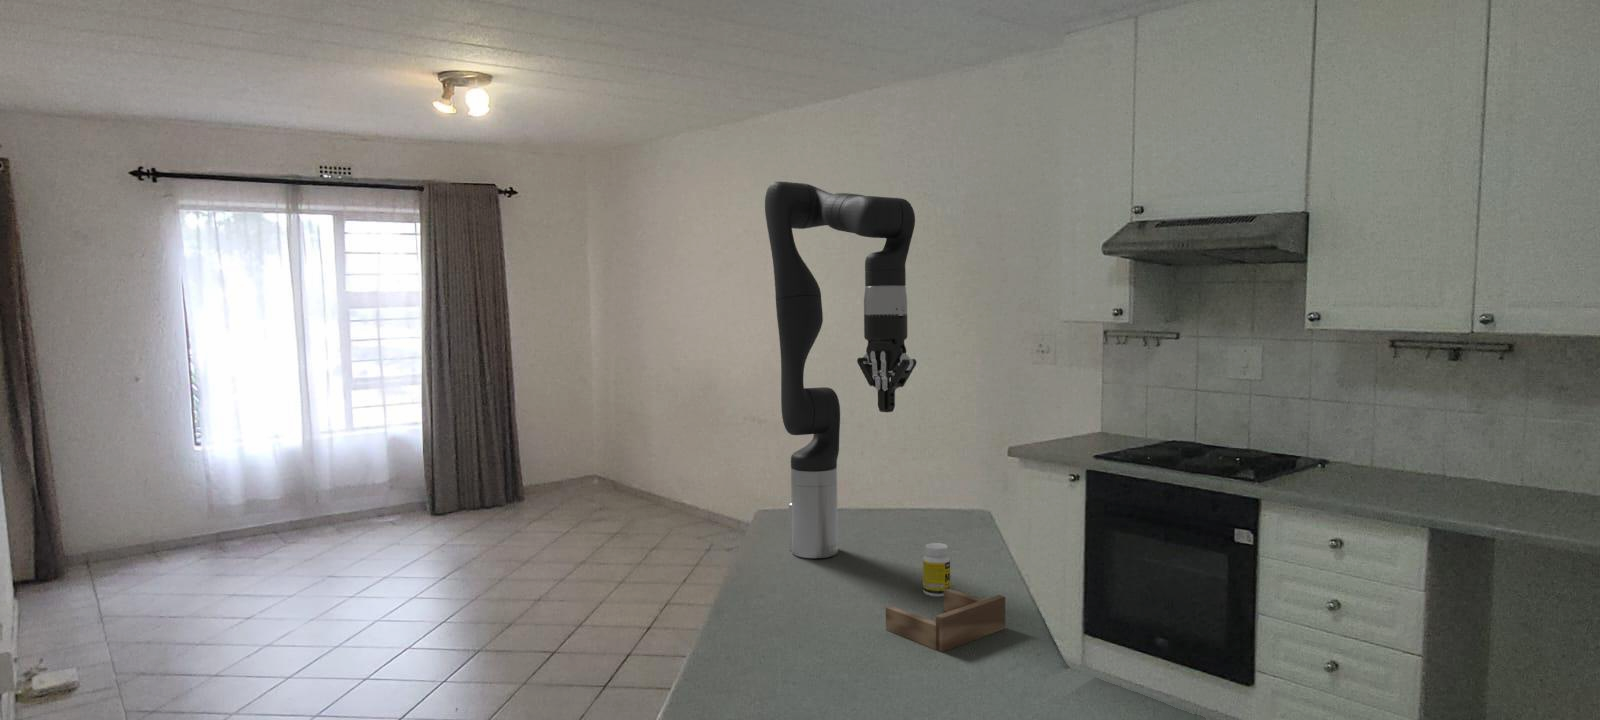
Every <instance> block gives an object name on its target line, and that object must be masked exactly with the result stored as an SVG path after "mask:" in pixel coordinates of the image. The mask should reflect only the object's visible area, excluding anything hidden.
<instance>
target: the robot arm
mask: <svg viewBox="0 0 1600 720" xmlns="http://www.w3.org/2000/svg"><path fill="white" fill-rule="evenodd" d="M764 211H765V212H764V213H765V221H766V228H767V234H768V239H769V240H768V241H769V245H770V250H771V258H772V265H773V266H772V267H773V276H774V277H773V278H774V288H775V289H774V291H775V309H776V320H777V327H778V336H779V350H780V369H781V371H780V374H781V375H780V377H781V379H780V382H781V383H780V385H781V386H780V387H781V389H780V390H781V391H780V392H781V393H780V394H781V395H780V400H781V402H780V405H781V407H780V408H781V417H782V418H781V419H782V422H783V426H784V429H785V430H786V432H787V433H788V434H789V435H791V436H805V435H813V437H812V439H811V441H810V442H809V443H808V444H807V445H805V446H804V447H802V448H800V449H799V450H796V451H795V452H793V453H792V454H791V456H790V483H791V484H790V487H791V488H790V490H791V491H790V493H791V503H789V504H788V535H789V536H788V538H789V540H788V542H789V547H788V548H789V549H788V550H789V551H791V553H792V555H794V556H795V557H798V558H799V557H800V558H805V559H824V558H830V557H833V556H835V555H837V554H838V552H839V545H838V544H839V543H838V542H839V541H838V539H839V538H838V534H839V530H838V524H839V523H838V519H839V518H838V457H839V453H840V433H841V432H840V426H841V405H840V401H839V397H838V395H837V393H836V391H835V390H834V389H833V388H831V387H806V388H805V386H804V374H805V365H806V363H807V359H808V357H809V354H810V351H811V350H812V347H813V345H814V344H815V342H816V340H817V338H818V336H819V333H820V331H821V329H822V327H823V322H824V315H823V314H824V313H823V303H822V293H821V292H822V291H821V289H820V286H819V284H818V282H817V280H816V277H815V276H814V275H813V273H812V271H811V269H810V268H809V267H808V265H807V264H806V263H805V262H804V260H803V258H802V256H801V255H800V253H799V251H798V249H797V246H796V242H795V239H794V234H793V229H797V230H799V229H800V230H805V229H810V228H811V229H812V228H818V227H822V226H828V227H829V228H831V229H833V230H835V231H840V232H844V233H845V232H846V233H850V234H855V235H857V236H860V237H863V238H864V237H865V238H870V239H871V238H874V239H876V238H877V239H885V244H884V245H883V249H882V250H880V251H876V252H871V253H869V254H868V255H867V256H866V257H865V261H864V282H865V284H864V286H865V287H864V297H863V317H864V318H863V334H864V335H863V337H864V339H865V340H866V341H867V345H866V350H865V351H866V353H865V354H864V355H863V356H862V357H858V358H857V360H856V362H857V364H858V366H859V369H860V370H861V372H862V374H863V376H864V377H865V380H866V382H867V383H868V386H870V387H874V388H875V390H876V391H877V408H878V411H879V412H880V413H893V411H894V409H895V407H896V395H895V394H896V390H897V389H899V388H904V386H905V385H906V384H907V381H908V379H909V377H910V376H911V374H912V373H913V370H914V369H915V367H916V366H917V360H916V359H915V358H911V357H909V355H908V354H907V348H906V345H905V340H907V338H908V297H907V287H906V285H907V284H906V282H907V281H906V279H907V278H906V262H907V259H908V258H907V257H908V254H909V251H910V247H911V241H912V237H913V235H914V231H915V226H916V216H915V215H916V214H915V210H914V208H913V206H912V204H911V203H910V202H909V201H908V200H907V199H905V198H900V197H888V196H887V197H886V196H875V195H874V196H873V195H863V194H859V193H858V194H857V193H850V192H849V193H847V192H846V193H844V192H839V193H838V192H837V193H831V192H828V191H825V190H823V189H821V188H819V187H816V186H814V185H811V184H809V183H805V182H801V183H799V182H791V181H774V182H772V183H770V184H769V185H768V187H767V189H766V193H765V198H764Z"/></svg>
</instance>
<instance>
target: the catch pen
mask: <svg viewBox="0 0 1600 720" xmlns="http://www.w3.org/2000/svg"><path fill="white" fill-rule="evenodd" d="M943 593H944V596H943V612H944V613H940V614H937V615H935V621H934V620H932V619H928V618H925V617H923V616H920V615H918V614H914V613H912V612H909V611H906V610H904V609H901V608H898V607H896V606H893V605H890V606H887V607H886V606H885V631H888V632H890V633H893V634H895V635H898V636H900V637H903V638H906V639H907V640H910V641H913V642H915V643H918V644H920V645H923V646H926V647H928V648H930V649H934V650H936V651H939V652H941V653H944V652H947V651H949V650H951V649H956V648H957V647H959V646H962V645H965V644H968V643H970V642H974V641H975V640H978V639H981V638H984V637H986V636H989V635H992V634H994V633H997V632H999V631H1002V630H1006V596H1004V595H1001V594H997V595H995V596H991V597H989V598H985V599H983V598H981V597H977V596H974V595H970V594H967V593H965V592H961V591H958V590H954V589H952V588H950V589H949V588H948V589H945V590H943Z"/></svg>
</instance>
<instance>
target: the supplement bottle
mask: <svg viewBox="0 0 1600 720" xmlns="http://www.w3.org/2000/svg"><path fill="white" fill-rule="evenodd" d="M924 554H925V555H924V556H923V557H922V583H923V584H922V590H923V594H925V595H927V596H931V597H944V593H943V590H945V589H948V588H949V589H951V559H950V557H949V556H948V555H949V546H948V544H945V543H939V542H932V543H927V544H925V545H924Z"/></svg>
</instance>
